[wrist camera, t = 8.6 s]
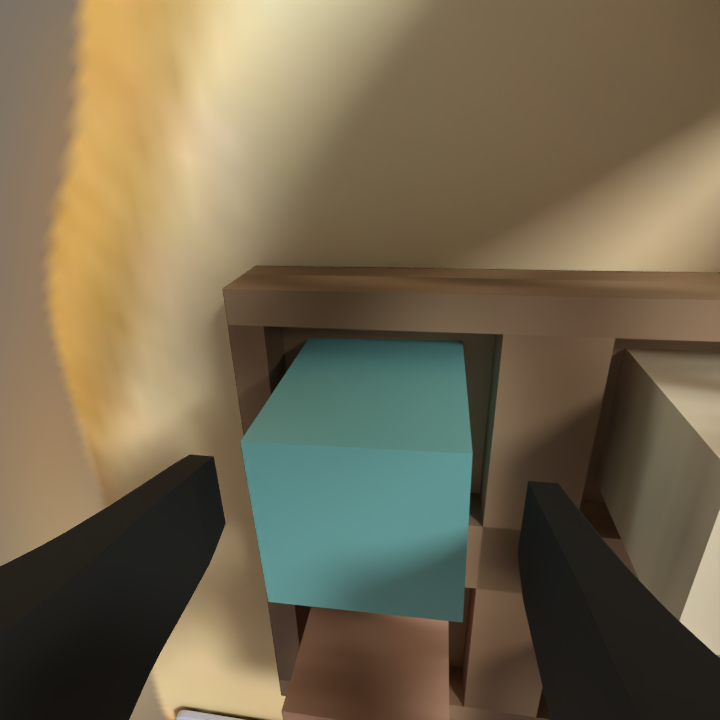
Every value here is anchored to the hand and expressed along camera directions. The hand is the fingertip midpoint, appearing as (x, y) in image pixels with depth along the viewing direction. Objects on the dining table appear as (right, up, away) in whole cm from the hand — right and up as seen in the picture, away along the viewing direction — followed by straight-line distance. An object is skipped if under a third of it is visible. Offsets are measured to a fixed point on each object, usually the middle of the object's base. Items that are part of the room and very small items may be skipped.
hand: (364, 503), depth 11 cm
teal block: (+1, +2, +4) cm, 4 cm away
